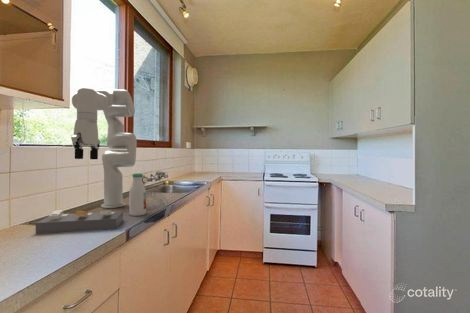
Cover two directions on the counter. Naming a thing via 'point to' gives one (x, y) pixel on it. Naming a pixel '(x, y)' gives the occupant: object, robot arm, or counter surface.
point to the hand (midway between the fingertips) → (86, 159)
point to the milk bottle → (137, 196)
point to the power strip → (80, 222)
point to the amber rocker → (81, 213)
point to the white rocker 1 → (56, 214)
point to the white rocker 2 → (105, 212)
